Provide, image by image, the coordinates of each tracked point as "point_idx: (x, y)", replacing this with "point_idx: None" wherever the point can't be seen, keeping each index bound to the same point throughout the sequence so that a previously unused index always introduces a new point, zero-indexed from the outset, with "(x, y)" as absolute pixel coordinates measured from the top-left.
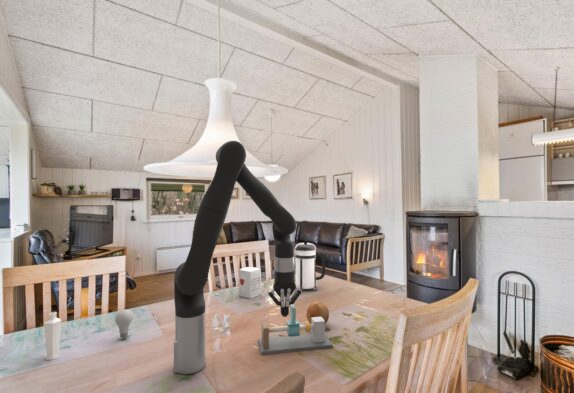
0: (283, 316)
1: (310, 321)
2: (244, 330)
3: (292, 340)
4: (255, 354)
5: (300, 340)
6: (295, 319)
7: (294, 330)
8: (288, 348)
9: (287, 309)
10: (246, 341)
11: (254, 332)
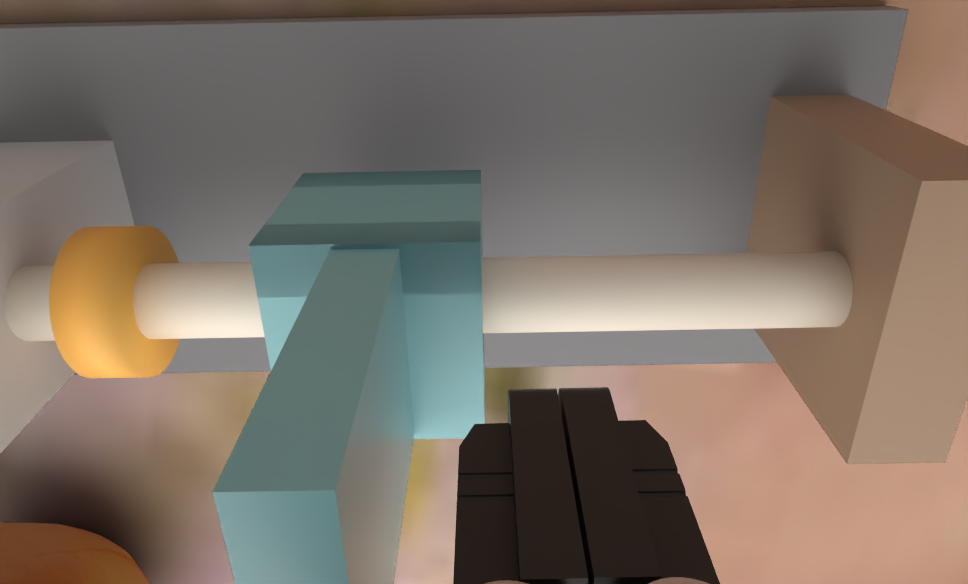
0: (603, 387)
1: (123, 580)
2: (889, 575)
3: None
4: (954, 26)
5: None
6: (312, 298)
7: (374, 201)
8: (504, 34)
9: (496, 528)
10: None
11: (798, 525)
